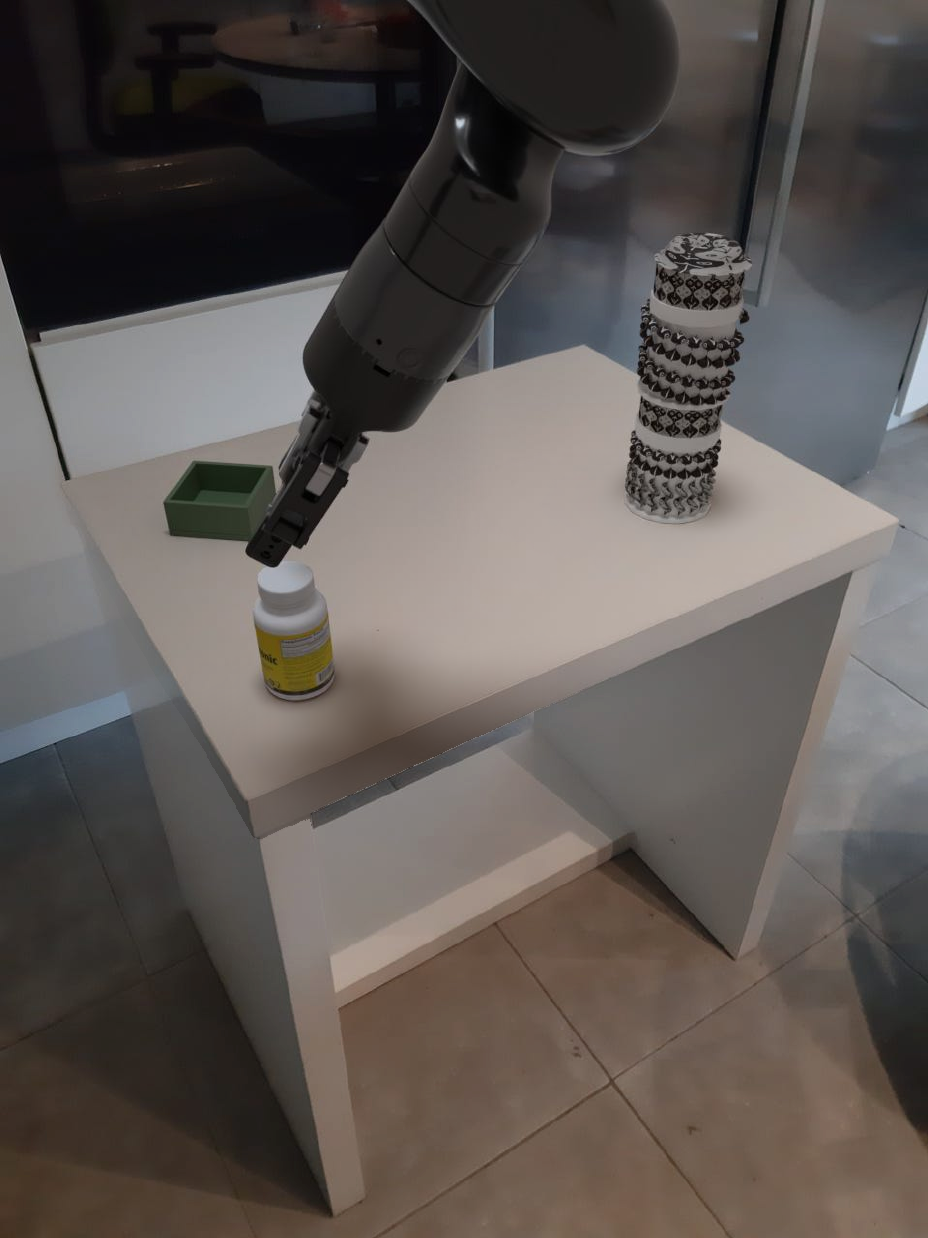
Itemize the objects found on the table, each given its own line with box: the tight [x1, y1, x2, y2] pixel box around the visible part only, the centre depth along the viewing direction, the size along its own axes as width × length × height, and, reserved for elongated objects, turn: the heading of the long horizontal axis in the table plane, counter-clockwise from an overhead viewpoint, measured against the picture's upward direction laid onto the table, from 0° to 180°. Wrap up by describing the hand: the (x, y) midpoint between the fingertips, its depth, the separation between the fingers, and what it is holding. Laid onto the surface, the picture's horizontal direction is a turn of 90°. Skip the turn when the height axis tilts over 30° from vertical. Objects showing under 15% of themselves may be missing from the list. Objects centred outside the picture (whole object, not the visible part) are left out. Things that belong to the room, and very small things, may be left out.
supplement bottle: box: [252, 560, 336, 701], centre depth 72 cm, size 5×5×10 cm
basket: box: [162, 460, 277, 542], centre depth 93 cm, size 8×8×4 cm
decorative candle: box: [624, 232, 754, 525], centre depth 89 cm, size 9×9×25 cm
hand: (276, 515), depth 63 cm, fingers open, 8 cm apart
